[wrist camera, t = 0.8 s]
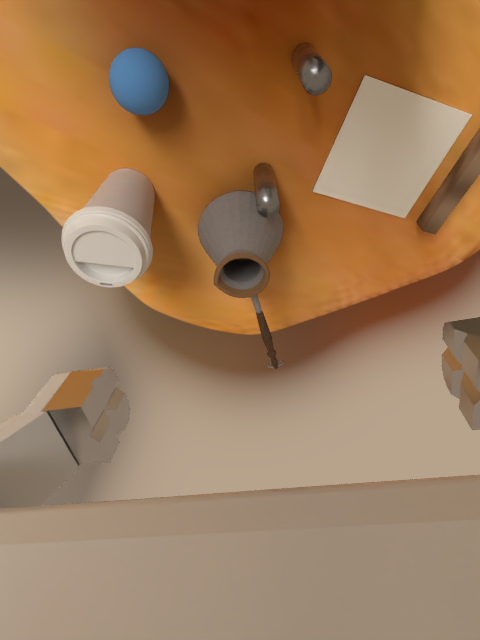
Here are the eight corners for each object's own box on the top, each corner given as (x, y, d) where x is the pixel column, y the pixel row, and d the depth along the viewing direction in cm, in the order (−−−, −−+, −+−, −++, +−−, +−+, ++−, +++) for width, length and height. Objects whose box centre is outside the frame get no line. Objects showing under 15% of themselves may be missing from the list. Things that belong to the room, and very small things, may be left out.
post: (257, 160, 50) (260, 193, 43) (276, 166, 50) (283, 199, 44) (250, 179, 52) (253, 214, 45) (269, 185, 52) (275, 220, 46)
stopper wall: (485, 119, 47) (495, 126, 45) (499, 124, 47) (510, 131, 46) (416, 221, 56) (422, 230, 54) (428, 224, 57) (435, 234, 55)
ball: (118, 33, 41) (105, 44, 36) (176, 53, 42) (170, 66, 38) (113, 96, 45) (101, 113, 40) (167, 112, 46) (160, 130, 42)
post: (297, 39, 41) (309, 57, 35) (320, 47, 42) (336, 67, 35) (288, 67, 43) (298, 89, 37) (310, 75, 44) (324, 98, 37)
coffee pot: (186, 196, 53) (174, 262, 42) (269, 169, 51) (279, 232, 40) (236, 309, 67) (237, 380, 56) (303, 292, 65) (318, 363, 54)
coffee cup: (83, 203, 54) (45, 271, 43) (106, 140, 48) (69, 199, 37) (150, 235, 57) (131, 304, 46) (178, 179, 52) (164, 244, 41)
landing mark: (364, 74, 44) (365, 75, 44) (471, 114, 47) (472, 114, 46) (312, 190, 53) (312, 191, 53) (404, 217, 56) (404, 218, 56)
